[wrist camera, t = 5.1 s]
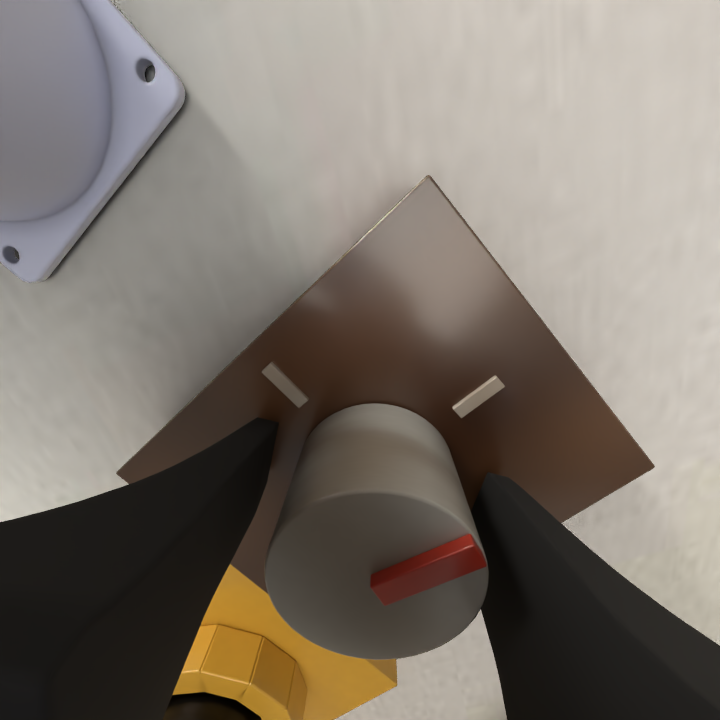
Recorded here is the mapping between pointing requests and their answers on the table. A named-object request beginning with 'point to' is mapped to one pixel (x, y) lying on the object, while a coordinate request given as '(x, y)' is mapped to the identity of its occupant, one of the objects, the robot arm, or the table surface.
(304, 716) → the button box
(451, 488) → the dial
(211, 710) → the black button
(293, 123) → the table surface
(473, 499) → the dial panel
